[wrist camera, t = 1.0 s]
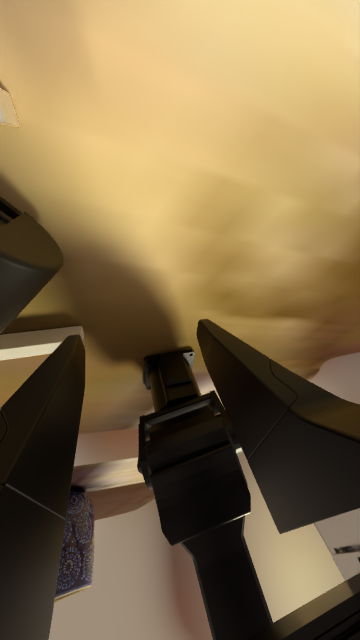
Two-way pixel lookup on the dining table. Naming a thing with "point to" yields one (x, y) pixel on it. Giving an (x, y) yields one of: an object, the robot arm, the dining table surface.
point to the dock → (33, 341)
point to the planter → (76, 547)
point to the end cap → (23, 261)
